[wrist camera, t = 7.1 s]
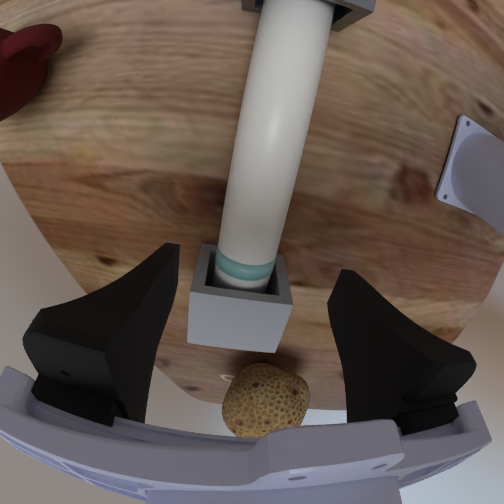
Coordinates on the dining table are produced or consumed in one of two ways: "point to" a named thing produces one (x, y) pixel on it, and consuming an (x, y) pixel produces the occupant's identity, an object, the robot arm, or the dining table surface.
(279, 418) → the natural sponge
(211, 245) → the socket
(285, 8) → the tube
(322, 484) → the robot arm
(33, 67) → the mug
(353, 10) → the grey stone block
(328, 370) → the dining table surface
